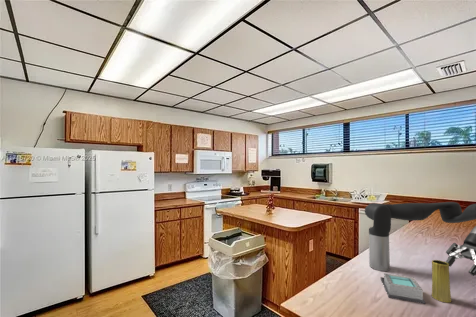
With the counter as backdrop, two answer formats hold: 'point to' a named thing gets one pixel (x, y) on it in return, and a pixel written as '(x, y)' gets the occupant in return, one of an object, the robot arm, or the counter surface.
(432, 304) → the counter surface
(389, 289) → the grey tray
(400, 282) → the plate
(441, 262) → the vase
